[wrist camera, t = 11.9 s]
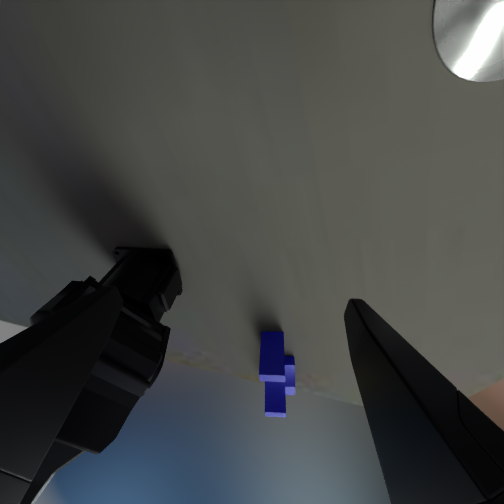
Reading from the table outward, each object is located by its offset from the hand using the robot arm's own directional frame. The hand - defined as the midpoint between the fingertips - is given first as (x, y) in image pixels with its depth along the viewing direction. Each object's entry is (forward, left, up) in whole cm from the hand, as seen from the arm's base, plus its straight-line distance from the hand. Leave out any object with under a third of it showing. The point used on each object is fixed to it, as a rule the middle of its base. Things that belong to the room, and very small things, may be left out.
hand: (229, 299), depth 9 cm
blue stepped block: (+4, -26, -13) cm, 29 cm away
